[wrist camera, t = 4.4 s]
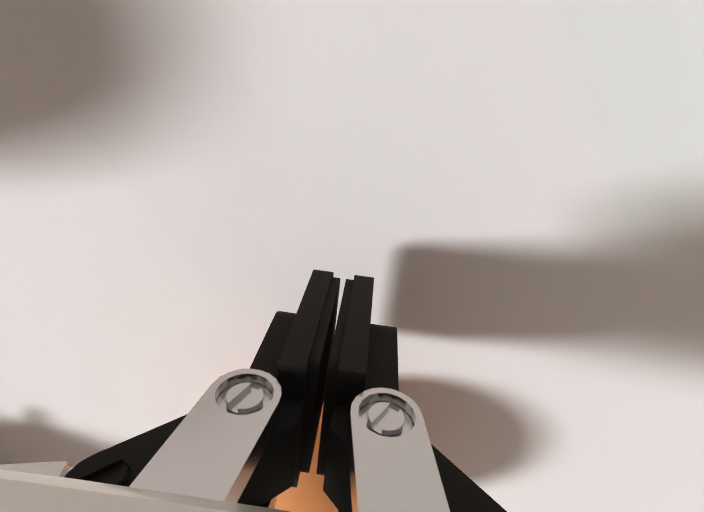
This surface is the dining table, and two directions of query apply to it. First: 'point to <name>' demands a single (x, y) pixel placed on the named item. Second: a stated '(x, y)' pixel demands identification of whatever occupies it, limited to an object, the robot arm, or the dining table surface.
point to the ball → (307, 489)
